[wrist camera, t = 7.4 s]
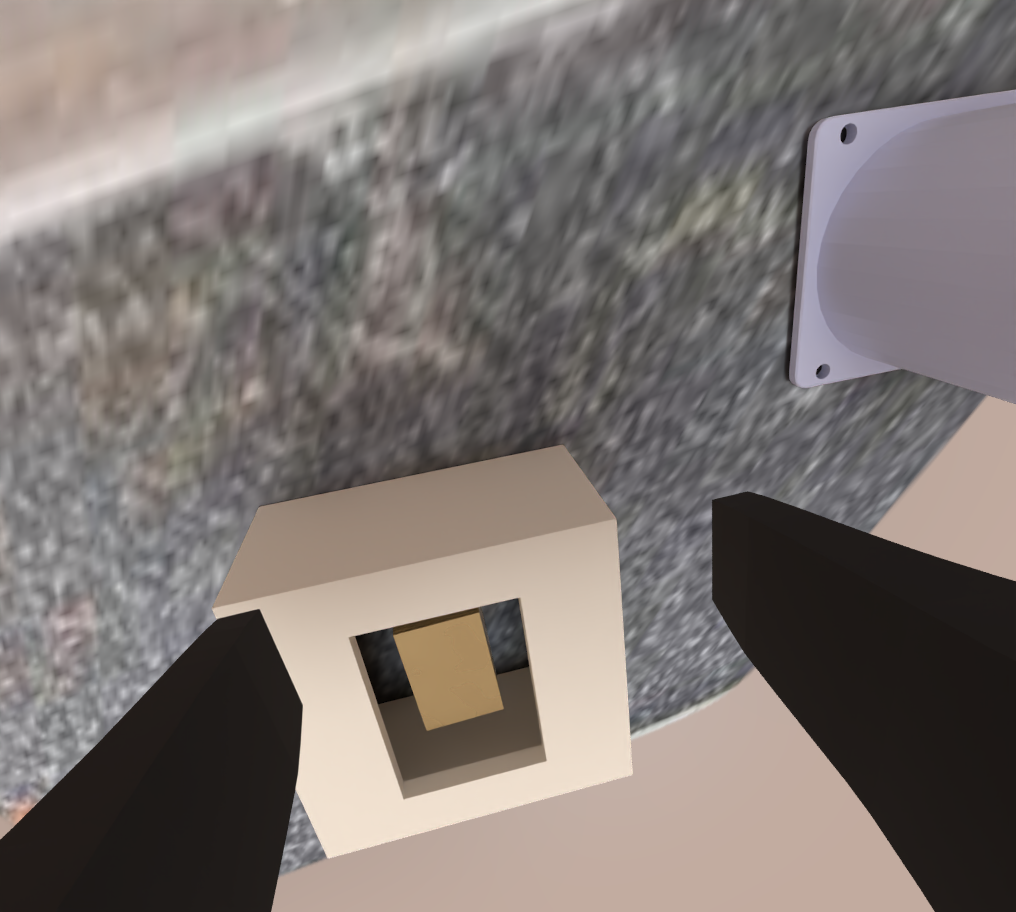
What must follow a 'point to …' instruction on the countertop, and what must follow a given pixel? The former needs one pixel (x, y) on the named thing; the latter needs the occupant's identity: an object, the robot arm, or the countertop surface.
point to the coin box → (431, 593)
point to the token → (450, 667)
